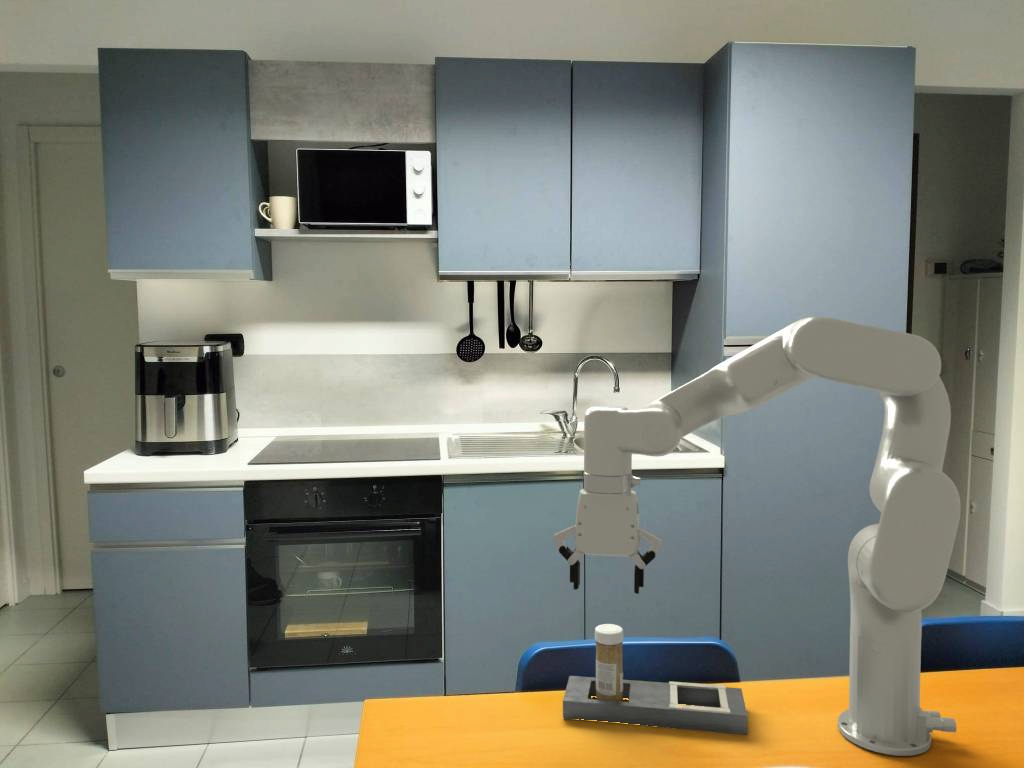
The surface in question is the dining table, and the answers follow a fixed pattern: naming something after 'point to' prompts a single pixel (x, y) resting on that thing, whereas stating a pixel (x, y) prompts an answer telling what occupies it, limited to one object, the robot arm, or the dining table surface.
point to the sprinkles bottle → (609, 662)
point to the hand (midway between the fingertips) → (606, 588)
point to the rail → (660, 705)
